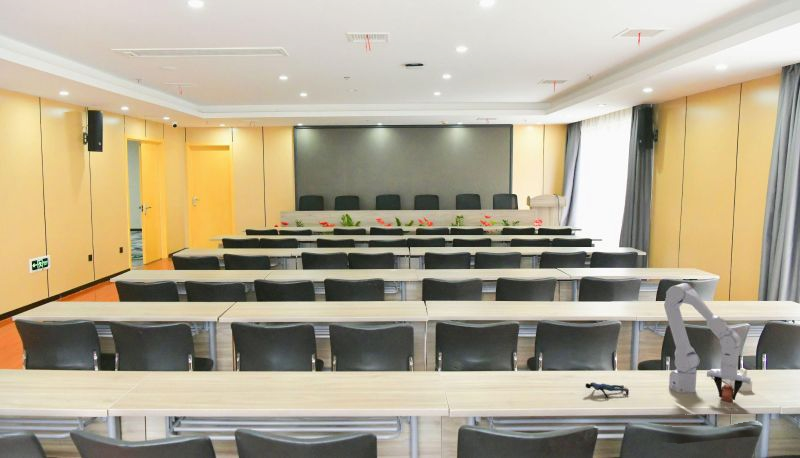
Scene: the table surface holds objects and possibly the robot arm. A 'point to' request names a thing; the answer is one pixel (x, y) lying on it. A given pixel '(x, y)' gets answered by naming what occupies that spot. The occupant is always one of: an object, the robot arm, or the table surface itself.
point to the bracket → (742, 372)
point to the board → (726, 402)
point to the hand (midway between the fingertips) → (727, 397)
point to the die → (744, 386)
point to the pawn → (727, 393)
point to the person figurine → (608, 388)
